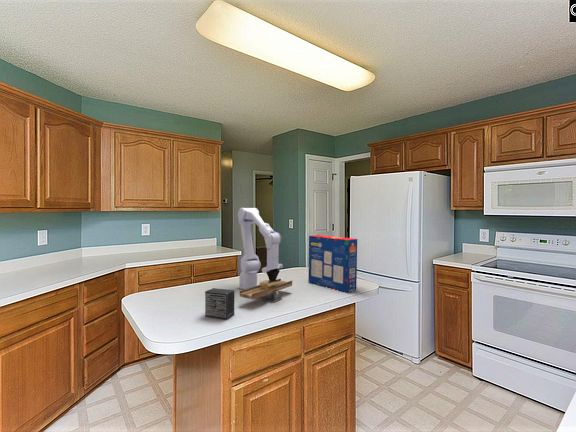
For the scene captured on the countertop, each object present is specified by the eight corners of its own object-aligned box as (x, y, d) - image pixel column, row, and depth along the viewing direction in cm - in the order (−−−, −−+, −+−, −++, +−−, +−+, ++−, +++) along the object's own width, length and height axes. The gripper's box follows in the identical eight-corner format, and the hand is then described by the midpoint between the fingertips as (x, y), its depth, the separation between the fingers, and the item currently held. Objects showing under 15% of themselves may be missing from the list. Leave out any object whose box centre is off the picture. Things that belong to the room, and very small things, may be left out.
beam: (239, 296, 136) (239, 291, 136) (279, 283, 162) (279, 278, 162) (253, 299, 132) (253, 294, 132) (292, 285, 157) (292, 280, 157)
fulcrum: (253, 298, 147) (253, 288, 147) (262, 294, 153) (262, 285, 153) (273, 303, 141) (273, 292, 140) (282, 299, 146) (282, 289, 146)
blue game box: (356, 290, 163) (357, 239, 162) (347, 293, 158) (348, 240, 157) (317, 280, 184) (318, 234, 183) (308, 282, 178) (309, 235, 177)
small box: (235, 314, 125) (235, 289, 125) (227, 320, 119) (227, 293, 119) (213, 311, 129) (213, 287, 128) (204, 316, 123) (204, 291, 122)
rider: (259, 288, 145) (259, 282, 145) (267, 285, 150) (267, 279, 150) (267, 290, 142) (267, 283, 142) (275, 287, 147) (275, 281, 147)
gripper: (270, 260, 141) (270, 289, 142) (287, 256, 153) (287, 282, 154) (258, 258, 145) (258, 286, 146) (276, 254, 157) (276, 280, 158)
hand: (272, 284), depth 150 cm, fingers closed
